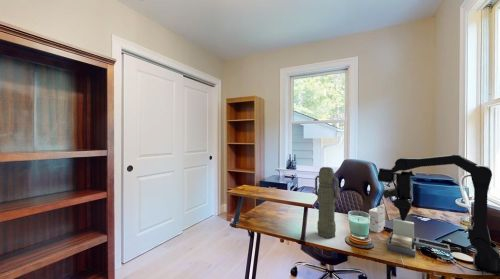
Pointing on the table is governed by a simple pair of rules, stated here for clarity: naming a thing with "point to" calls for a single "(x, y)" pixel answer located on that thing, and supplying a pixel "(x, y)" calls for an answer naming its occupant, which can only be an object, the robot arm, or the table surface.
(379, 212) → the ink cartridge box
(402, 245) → the block
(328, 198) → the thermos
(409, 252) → the rack
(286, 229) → the table surface
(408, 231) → the pale grey block
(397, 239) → the offcut top
